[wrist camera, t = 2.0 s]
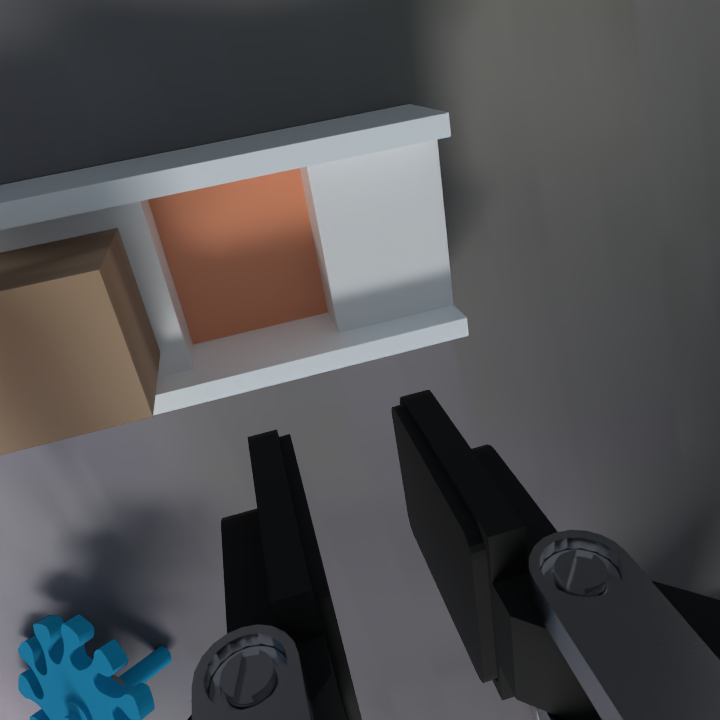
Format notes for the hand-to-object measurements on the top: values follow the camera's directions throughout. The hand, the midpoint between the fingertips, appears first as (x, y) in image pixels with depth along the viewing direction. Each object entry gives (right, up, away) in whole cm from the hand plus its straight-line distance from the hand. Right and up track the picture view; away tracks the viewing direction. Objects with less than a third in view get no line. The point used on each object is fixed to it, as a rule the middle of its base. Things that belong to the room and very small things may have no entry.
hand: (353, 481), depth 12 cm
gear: (-14, -14, +23) cm, 30 cm away
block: (-10, +4, +11) cm, 16 cm away
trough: (-10, +6, +14) cm, 18 cm away
